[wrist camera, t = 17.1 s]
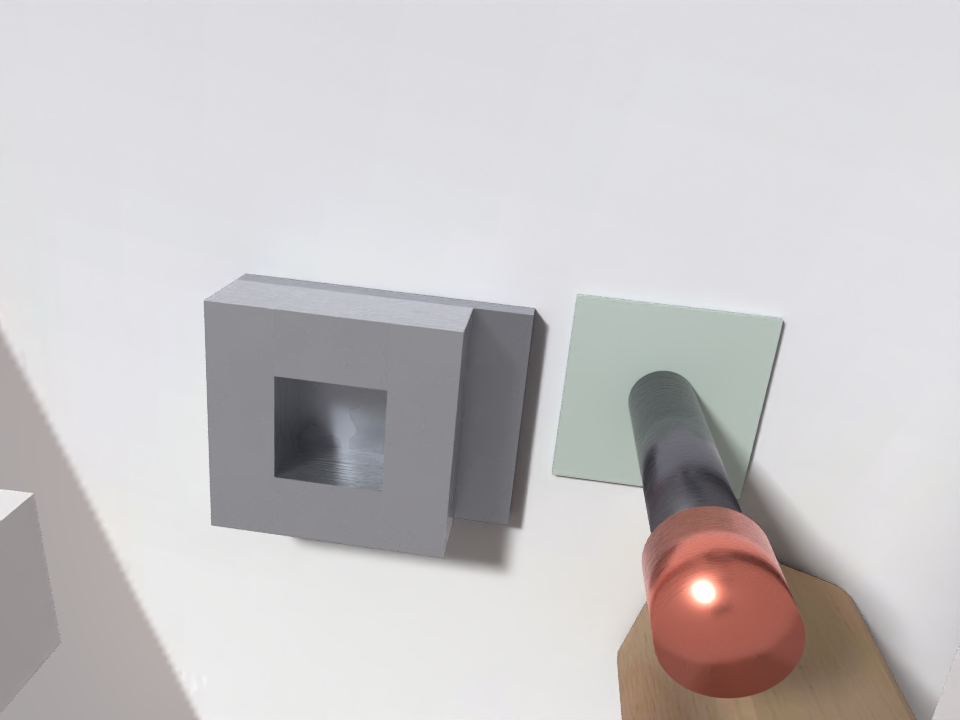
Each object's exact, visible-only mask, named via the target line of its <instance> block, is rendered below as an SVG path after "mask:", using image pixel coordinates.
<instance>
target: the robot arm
mask: <svg viewBox="0 0 960 720" xmlns="http://www.w3.org/2000/svg"><path fill="white" fill-rule="evenodd" d="M60 643H61V640H60V634H59V629H58V623H57V618H56V613H55V607H54V601H53V596H52V590H51V585H50V579H49V574H48V568H47V563H46V557H45V552H44V546H43V541H42V535H41V530H40V524H39V519H38V513H37V508H36V502H35V497H34V493H27V492H19V491H10V490H1V489H0V714H1V713H2V711H3V710H4V709H5V708H6V707H7V705H8V704H9V703H10V702H11V701H12V700H13V698H14V697H15V696H16V695H17V694H18V693H19V692H20V690H21V689H22V688H23V687H24V686H25V684H26V683H27V682H28V681H29V680H30V678H31V677H32V676H33V675H34V674H35V673H36V672H37V670H38V669H39V668H40V667H41V666H42V664H43V663H44V662H45V661H46V660H47V659H48V657H49V656H50V655H51V654H52V653H53V652H54V650H55V649H56V648H57V647H58V646H59V644H60ZM932 720H960V644H959V647H958V650H957V652H956V655H955V658H954V660H953V663H952V666H951V669H950V671H949V674H948V677H947V680H946V682H945V685H944V688H943V690H942V693H941V696H940V699H939V701H938V704H937V707H936V709H935V712H934V715H933V718H932Z"/></svg>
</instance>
